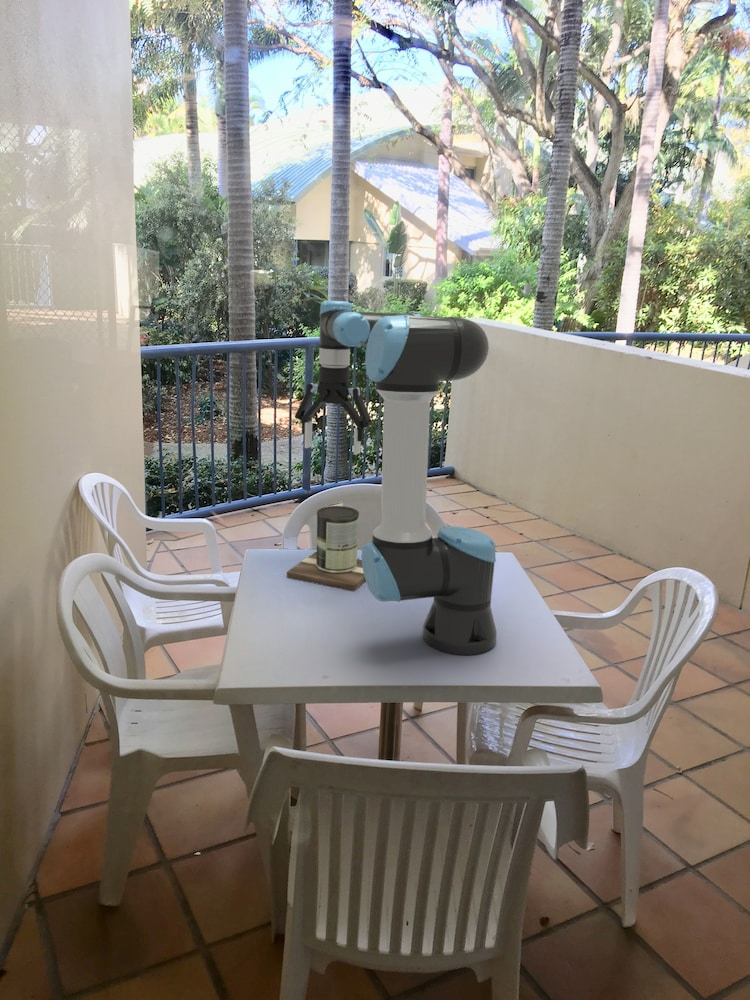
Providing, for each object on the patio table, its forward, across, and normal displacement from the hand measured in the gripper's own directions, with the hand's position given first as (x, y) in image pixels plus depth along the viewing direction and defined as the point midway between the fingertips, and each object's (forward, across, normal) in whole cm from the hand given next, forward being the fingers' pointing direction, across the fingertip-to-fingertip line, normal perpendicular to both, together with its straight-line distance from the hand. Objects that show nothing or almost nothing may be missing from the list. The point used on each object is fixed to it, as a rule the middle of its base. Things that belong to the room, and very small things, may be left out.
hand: (332, 450), depth 188 cm
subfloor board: (+29, -6, +10) cm, 31 cm away
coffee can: (+27, -6, +9) cm, 29 cm away
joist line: (+27, -6, +9) cm, 29 cm away
